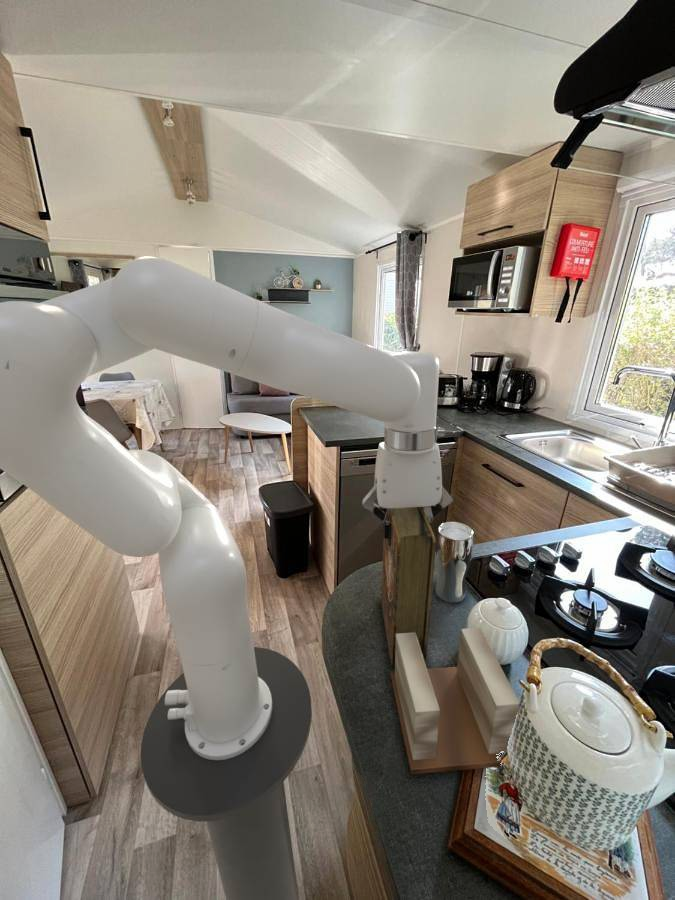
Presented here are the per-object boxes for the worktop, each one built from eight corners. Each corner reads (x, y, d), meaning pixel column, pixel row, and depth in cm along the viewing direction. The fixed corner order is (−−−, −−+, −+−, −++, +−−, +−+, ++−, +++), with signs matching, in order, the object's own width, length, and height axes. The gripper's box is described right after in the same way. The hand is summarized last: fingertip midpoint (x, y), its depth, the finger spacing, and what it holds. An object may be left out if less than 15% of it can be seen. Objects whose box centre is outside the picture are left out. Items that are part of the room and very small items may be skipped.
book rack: (410, 774, 49) (413, 720, 45) (390, 676, 62) (391, 628, 58) (517, 765, 49) (528, 711, 46) (474, 669, 62) (480, 622, 59)
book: (380, 598, 78) (384, 489, 69) (407, 598, 78) (414, 488, 69) (391, 670, 63) (397, 540, 54) (425, 669, 63) (436, 539, 54)
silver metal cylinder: (474, 601, 77) (481, 537, 71) (442, 607, 75) (447, 542, 70) (457, 579, 83) (462, 519, 78) (427, 584, 82) (431, 523, 77)
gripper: (456, 427, 61) (448, 525, 67) (351, 432, 60) (353, 531, 67) (474, 442, 54) (463, 550, 60) (355, 448, 53) (357, 557, 60)
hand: (405, 539), depth 63 cm, fingers closed on book, 4 cm apart
